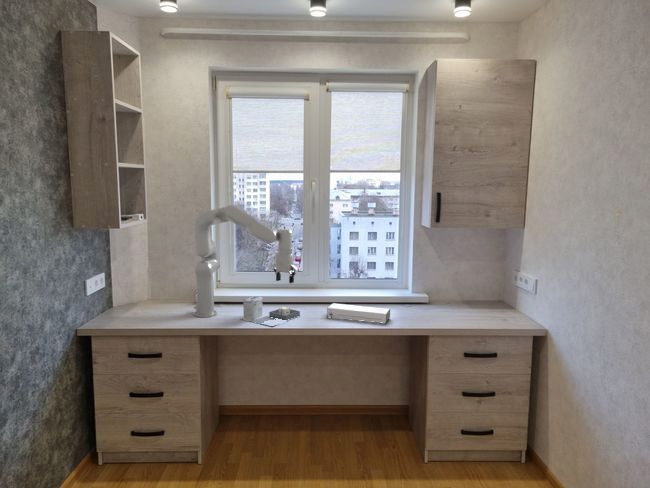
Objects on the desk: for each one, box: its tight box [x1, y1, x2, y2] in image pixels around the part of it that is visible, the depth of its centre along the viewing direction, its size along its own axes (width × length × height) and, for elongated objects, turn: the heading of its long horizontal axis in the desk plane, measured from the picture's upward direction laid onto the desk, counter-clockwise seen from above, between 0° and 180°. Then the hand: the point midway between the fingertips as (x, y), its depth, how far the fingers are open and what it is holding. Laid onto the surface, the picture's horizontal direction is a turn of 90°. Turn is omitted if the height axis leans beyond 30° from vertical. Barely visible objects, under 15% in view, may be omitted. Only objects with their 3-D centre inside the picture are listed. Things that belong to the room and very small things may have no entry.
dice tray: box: [268, 308, 301, 321], centre depth 249 cm, size 12×12×3 cm
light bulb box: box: [242, 295, 263, 320], centre depth 245 cm, size 11×7×11 cm, turn 161°
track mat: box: [239, 314, 276, 325], centre depth 241 cm, size 24×12×1 cm, turn 54°
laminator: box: [326, 302, 391, 324], centre depth 248 cm, size 34×12×6 cm, turn 72°
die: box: [278, 306, 291, 315], centre depth 249 cm, size 5×5×5 cm
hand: (284, 281), depth 247 cm, fingers open, 9 cm apart
